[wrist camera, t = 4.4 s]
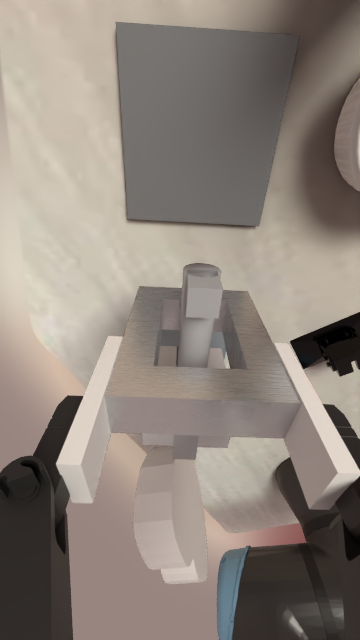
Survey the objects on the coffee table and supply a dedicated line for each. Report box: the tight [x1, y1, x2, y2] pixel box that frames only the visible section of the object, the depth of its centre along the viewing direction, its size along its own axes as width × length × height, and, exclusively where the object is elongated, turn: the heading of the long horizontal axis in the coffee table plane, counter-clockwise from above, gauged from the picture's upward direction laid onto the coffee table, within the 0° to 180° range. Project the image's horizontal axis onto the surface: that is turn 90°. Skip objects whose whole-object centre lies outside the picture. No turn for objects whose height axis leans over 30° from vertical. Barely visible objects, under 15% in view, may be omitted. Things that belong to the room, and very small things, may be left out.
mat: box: [116, 22, 300, 226], centre depth 20 cm, size 12×12×1 cm
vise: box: [142, 263, 230, 460], centre depth 23 cm, size 21×8×14 cm, turn 177°
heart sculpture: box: [133, 446, 208, 584], centre depth 31 cm, size 16×5×18 cm, turn 15°
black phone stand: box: [290, 312, 360, 376], centre depth 29 cm, size 12×7×5 cm, turn 122°
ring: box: [104, 286, 302, 438], centre depth 15 cm, size 2×8×10 cm, turn 87°
